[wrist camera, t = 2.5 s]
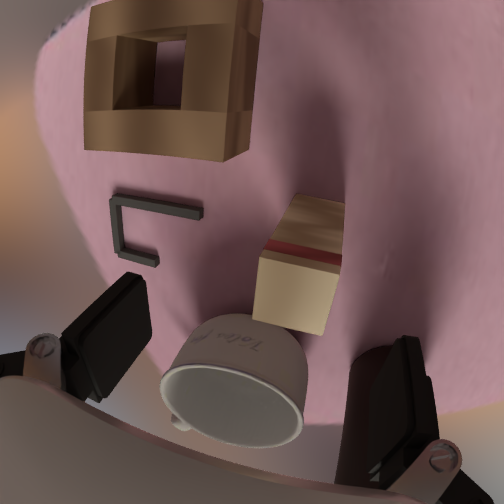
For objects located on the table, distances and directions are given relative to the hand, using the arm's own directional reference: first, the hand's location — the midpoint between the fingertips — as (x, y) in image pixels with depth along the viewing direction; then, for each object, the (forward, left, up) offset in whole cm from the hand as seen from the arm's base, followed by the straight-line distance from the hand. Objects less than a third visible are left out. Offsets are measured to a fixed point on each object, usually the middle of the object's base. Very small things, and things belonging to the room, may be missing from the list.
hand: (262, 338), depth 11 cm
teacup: (+3, +13, -12) cm, 18 cm away
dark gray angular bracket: (+12, +3, -11) cm, 17 cm away
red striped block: (-1, 0, -12) cm, 12 cm away
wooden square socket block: (+9, -9, -12) cm, 17 cm away
